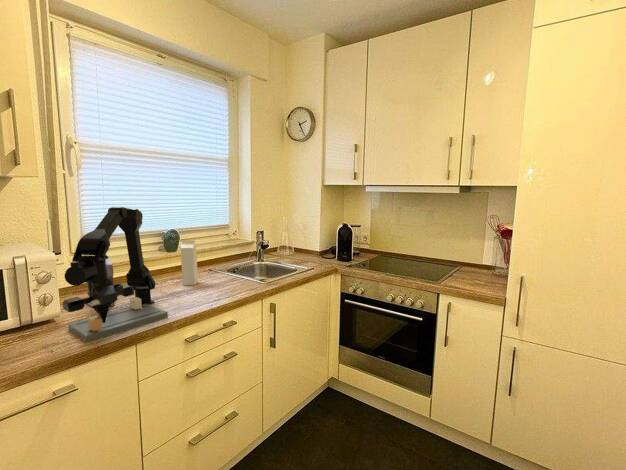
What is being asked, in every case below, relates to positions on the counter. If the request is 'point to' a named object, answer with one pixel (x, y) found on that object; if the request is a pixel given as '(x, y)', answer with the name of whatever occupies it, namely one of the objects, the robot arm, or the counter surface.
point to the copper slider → (95, 323)
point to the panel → (118, 322)
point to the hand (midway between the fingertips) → (103, 322)
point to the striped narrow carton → (110, 273)
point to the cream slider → (135, 303)
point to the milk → (189, 263)
